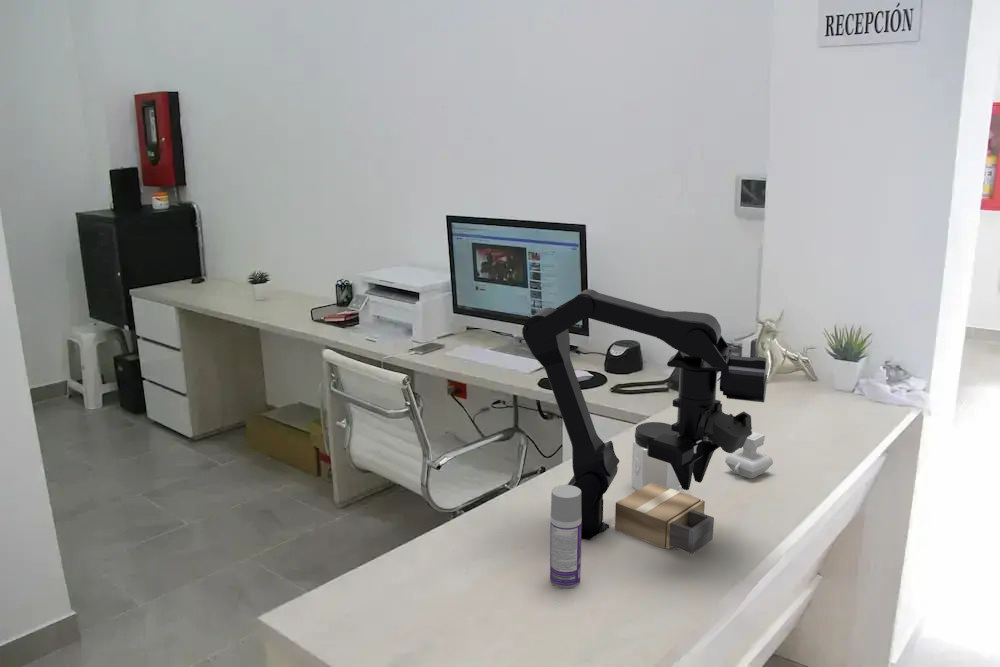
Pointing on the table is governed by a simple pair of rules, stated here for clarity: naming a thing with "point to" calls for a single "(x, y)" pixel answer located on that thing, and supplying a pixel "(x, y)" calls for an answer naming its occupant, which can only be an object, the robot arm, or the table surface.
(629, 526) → the carton
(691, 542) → the flap
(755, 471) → the stamp
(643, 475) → the jar
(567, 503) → the container
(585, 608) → the table surface
